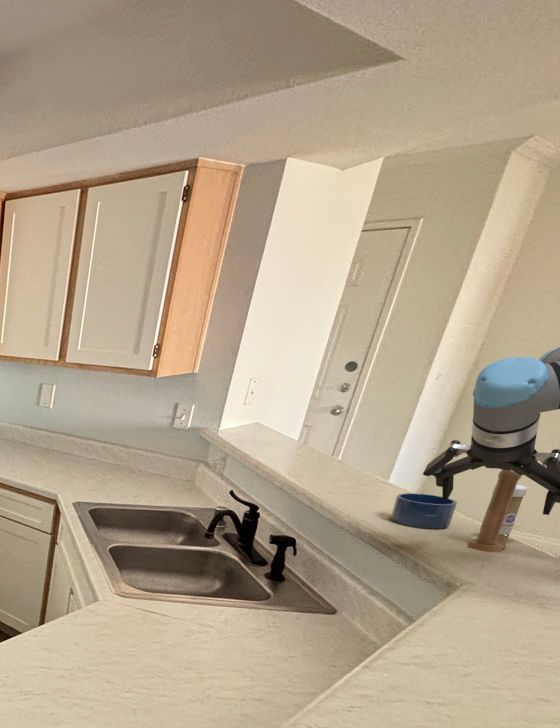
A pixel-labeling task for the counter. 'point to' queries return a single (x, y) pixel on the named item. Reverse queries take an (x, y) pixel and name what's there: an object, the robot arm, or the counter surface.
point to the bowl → (423, 510)
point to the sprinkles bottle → (510, 514)
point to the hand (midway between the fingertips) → (495, 501)
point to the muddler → (496, 513)
